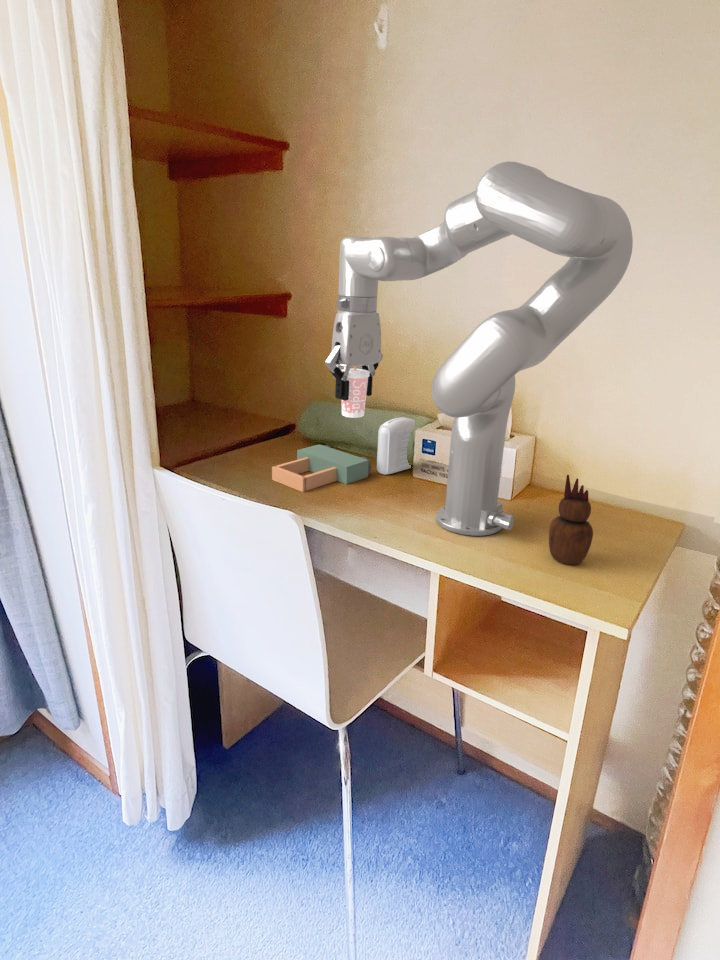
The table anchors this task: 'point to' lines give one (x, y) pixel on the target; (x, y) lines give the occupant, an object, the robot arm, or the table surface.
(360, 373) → the beverage cup
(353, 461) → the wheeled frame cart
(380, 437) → the photo printer
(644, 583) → the table surface
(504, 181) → the robot arm
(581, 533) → the wooden figurine
